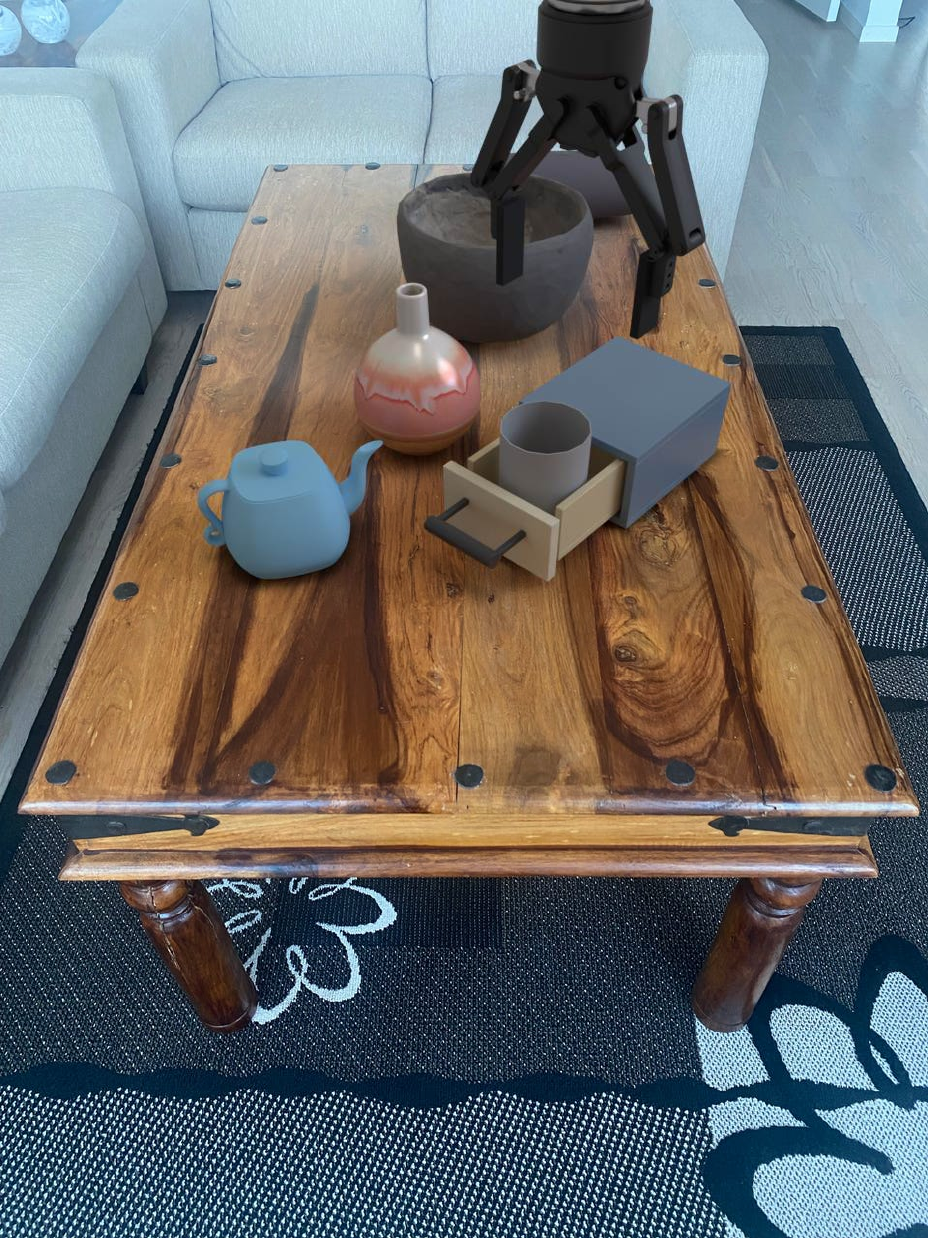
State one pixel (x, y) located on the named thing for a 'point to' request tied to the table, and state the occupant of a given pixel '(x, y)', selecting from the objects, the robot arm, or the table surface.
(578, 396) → the cabinet
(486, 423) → the table surface
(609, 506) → the open pull-out drawer
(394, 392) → the vase
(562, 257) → the bowl
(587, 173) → the bluetooth speaker
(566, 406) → the cup
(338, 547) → the teapot
